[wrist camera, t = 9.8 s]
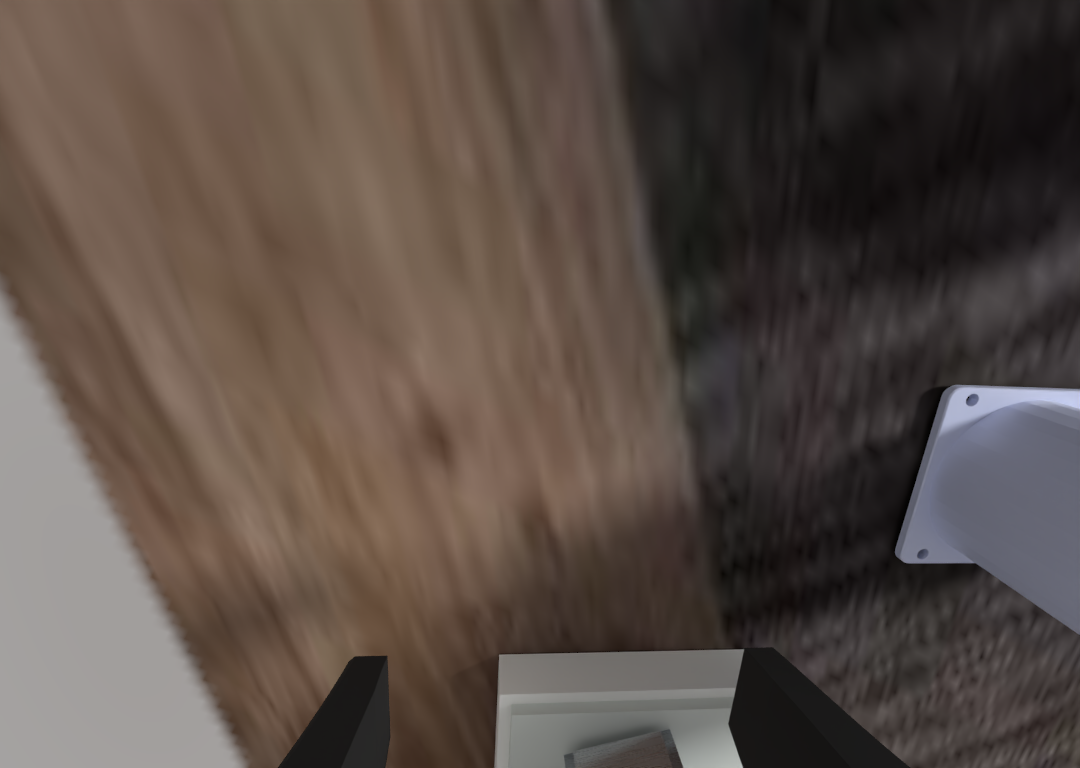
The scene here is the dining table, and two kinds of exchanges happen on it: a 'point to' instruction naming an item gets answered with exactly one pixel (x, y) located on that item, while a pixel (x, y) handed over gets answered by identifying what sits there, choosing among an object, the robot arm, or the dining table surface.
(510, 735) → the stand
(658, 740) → the block
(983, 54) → the dining table surface
